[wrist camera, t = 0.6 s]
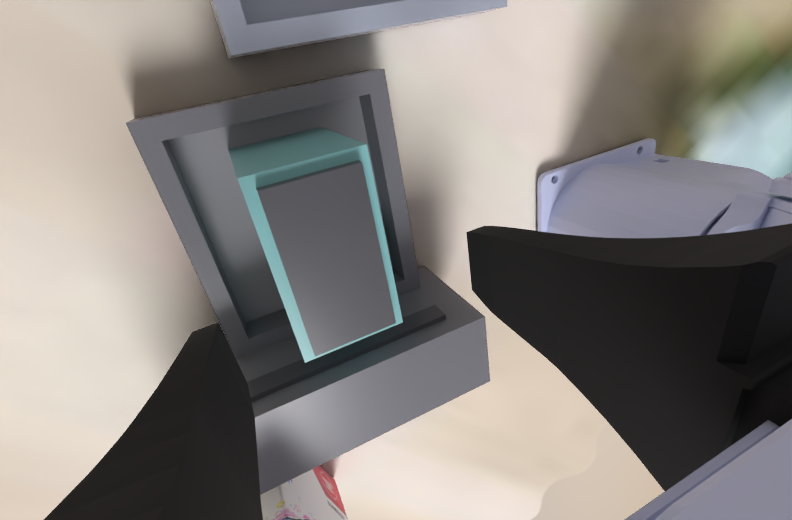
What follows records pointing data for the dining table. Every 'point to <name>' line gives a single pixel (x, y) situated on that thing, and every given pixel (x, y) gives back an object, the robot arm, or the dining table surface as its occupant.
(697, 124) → the dining table surface
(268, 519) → the ink cartridge box
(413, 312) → the bay
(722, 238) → the robot arm
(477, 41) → the dining table surface
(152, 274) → the dining table surface
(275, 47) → the tray
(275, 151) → the teal block grey face
